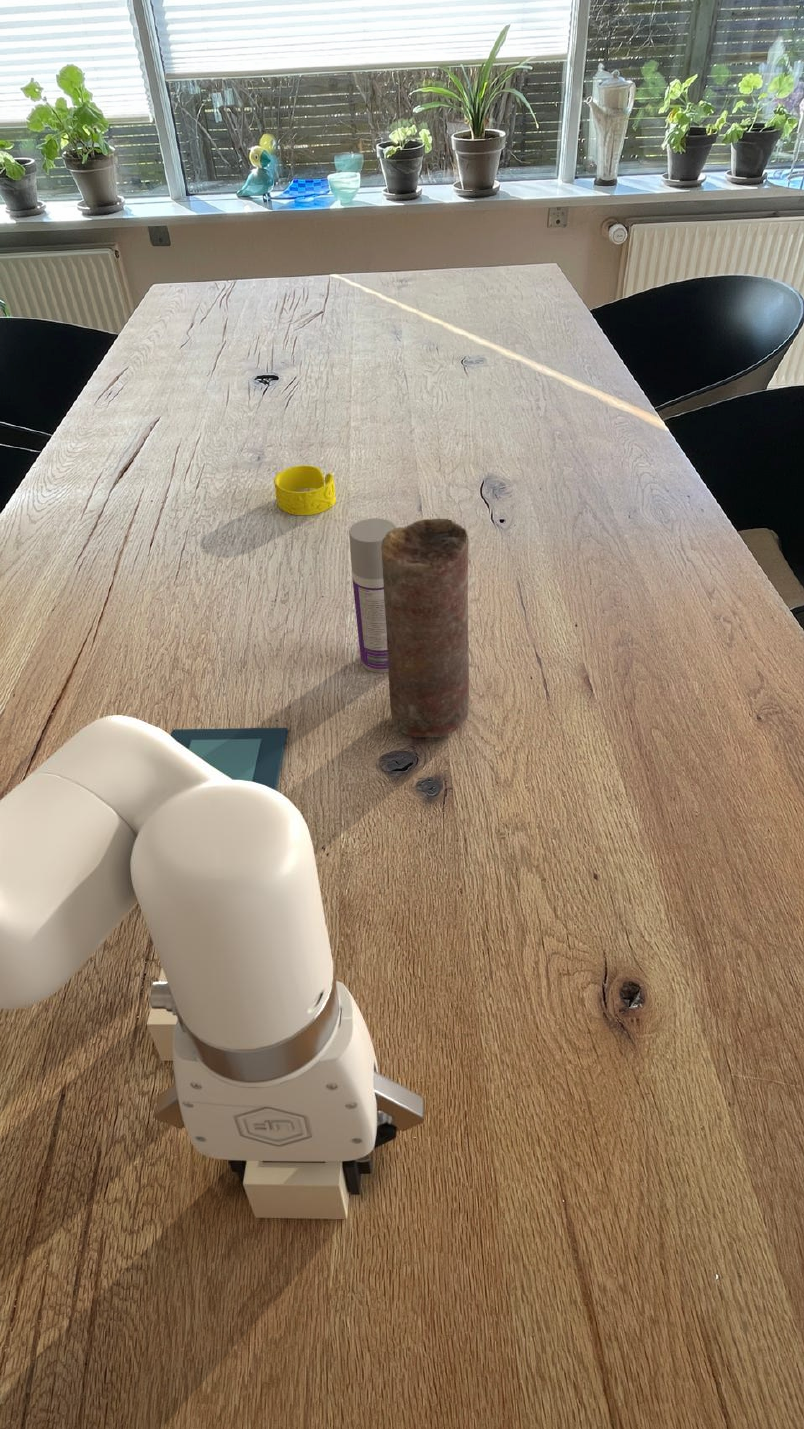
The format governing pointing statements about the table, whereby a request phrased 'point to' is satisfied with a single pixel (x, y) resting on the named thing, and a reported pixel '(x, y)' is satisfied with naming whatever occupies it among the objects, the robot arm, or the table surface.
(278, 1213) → the tile
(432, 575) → the candle
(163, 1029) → the tile
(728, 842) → the table surface
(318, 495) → the bracelet
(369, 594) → the container
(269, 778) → the word mat
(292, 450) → the table surface
